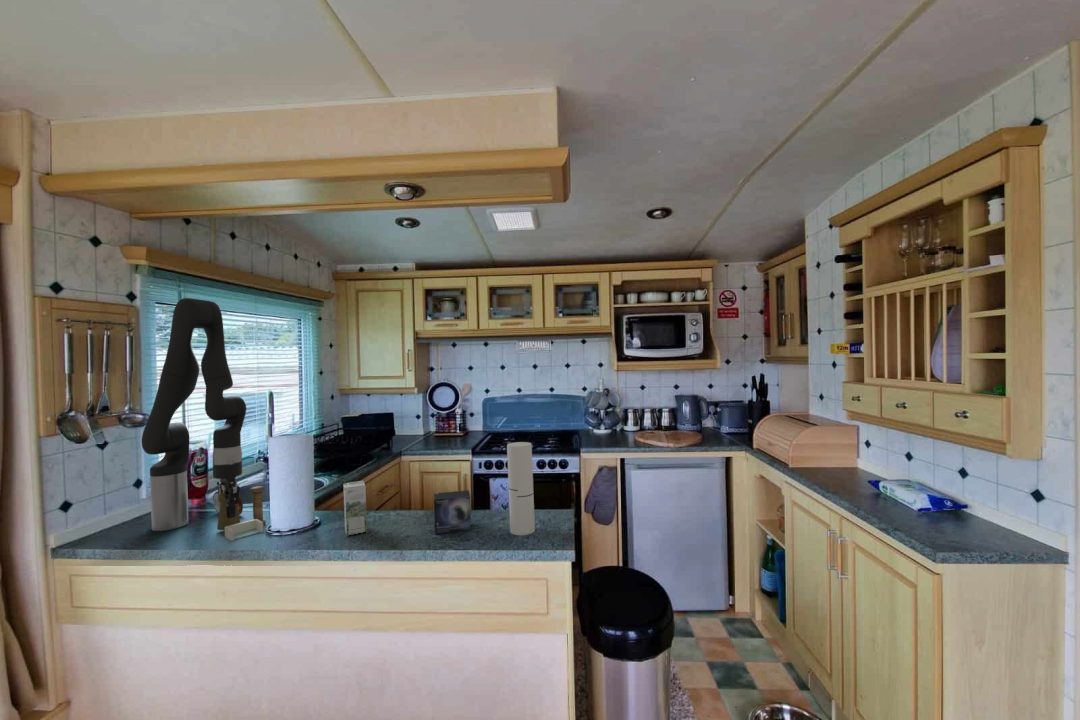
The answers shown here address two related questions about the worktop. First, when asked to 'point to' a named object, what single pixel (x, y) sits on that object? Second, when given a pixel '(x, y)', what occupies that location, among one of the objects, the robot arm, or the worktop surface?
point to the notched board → (243, 529)
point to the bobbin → (258, 503)
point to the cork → (223, 519)
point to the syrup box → (355, 508)
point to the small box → (452, 512)
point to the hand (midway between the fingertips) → (228, 515)
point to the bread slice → (217, 503)
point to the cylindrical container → (520, 488)
